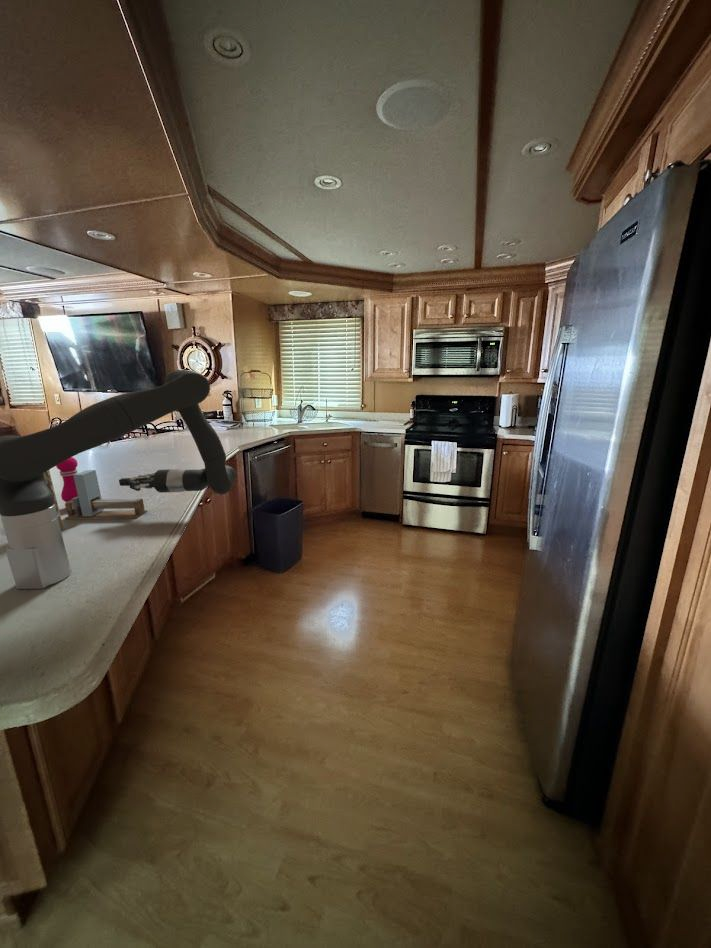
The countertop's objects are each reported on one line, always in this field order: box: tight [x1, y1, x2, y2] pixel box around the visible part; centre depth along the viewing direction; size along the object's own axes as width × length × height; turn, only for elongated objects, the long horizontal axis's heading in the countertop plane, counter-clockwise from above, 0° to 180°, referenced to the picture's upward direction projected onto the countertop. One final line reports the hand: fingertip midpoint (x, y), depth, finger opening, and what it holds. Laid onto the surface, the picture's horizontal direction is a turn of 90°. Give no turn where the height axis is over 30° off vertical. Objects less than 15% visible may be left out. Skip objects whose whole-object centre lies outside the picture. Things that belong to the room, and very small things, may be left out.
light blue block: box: [73, 469, 105, 516], centre depth 124 cm, size 6×3×14 cm, turn 179°
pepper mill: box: [55, 456, 79, 510], centre depth 132 cm, size 7×7×20 cm
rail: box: [64, 496, 148, 520], centre depth 125 cm, size 6×24×7 cm, turn 90°
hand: (120, 482), depth 123 cm, fingers closed
